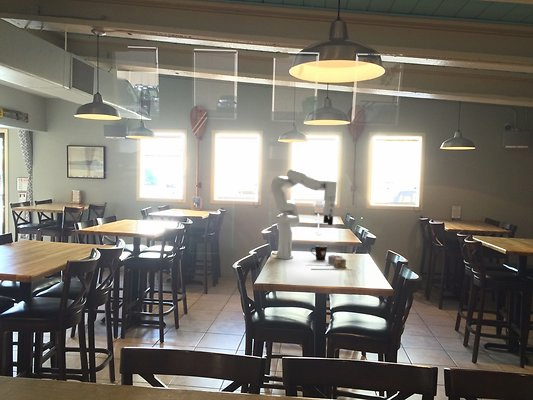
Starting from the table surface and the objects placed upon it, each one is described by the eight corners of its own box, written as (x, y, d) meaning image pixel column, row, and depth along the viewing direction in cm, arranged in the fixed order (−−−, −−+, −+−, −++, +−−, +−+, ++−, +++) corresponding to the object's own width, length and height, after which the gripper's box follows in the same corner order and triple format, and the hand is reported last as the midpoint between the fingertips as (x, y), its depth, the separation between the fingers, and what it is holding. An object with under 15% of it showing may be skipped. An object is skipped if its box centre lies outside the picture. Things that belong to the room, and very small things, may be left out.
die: (337, 268, 290) (337, 259, 289) (333, 266, 296) (334, 257, 295) (345, 268, 291) (346, 259, 290) (342, 266, 297) (342, 257, 297)
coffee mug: (326, 259, 323) (326, 245, 323) (326, 261, 315) (327, 247, 314) (310, 258, 324) (311, 244, 324) (310, 260, 316) (311, 246, 315)
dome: (332, 263, 304) (333, 255, 304) (330, 262, 309) (330, 254, 309) (339, 263, 305) (340, 255, 305) (337, 262, 310) (337, 254, 310)
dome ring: (330, 264, 302) (331, 257, 302) (326, 262, 311) (327, 255, 311) (343, 264, 303) (343, 257, 303) (339, 262, 312) (339, 255, 312)
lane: (311, 269, 282) (311, 269, 282) (305, 264, 297) (305, 264, 297) (351, 269, 287) (351, 269, 287) (343, 265, 301) (343, 264, 301)
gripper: (339, 200, 287) (337, 226, 288) (331, 198, 304) (329, 222, 305) (328, 199, 286) (326, 225, 287) (320, 197, 303) (318, 222, 304)
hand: (327, 224), depth 296 cm, fingers open, 9 cm apart
